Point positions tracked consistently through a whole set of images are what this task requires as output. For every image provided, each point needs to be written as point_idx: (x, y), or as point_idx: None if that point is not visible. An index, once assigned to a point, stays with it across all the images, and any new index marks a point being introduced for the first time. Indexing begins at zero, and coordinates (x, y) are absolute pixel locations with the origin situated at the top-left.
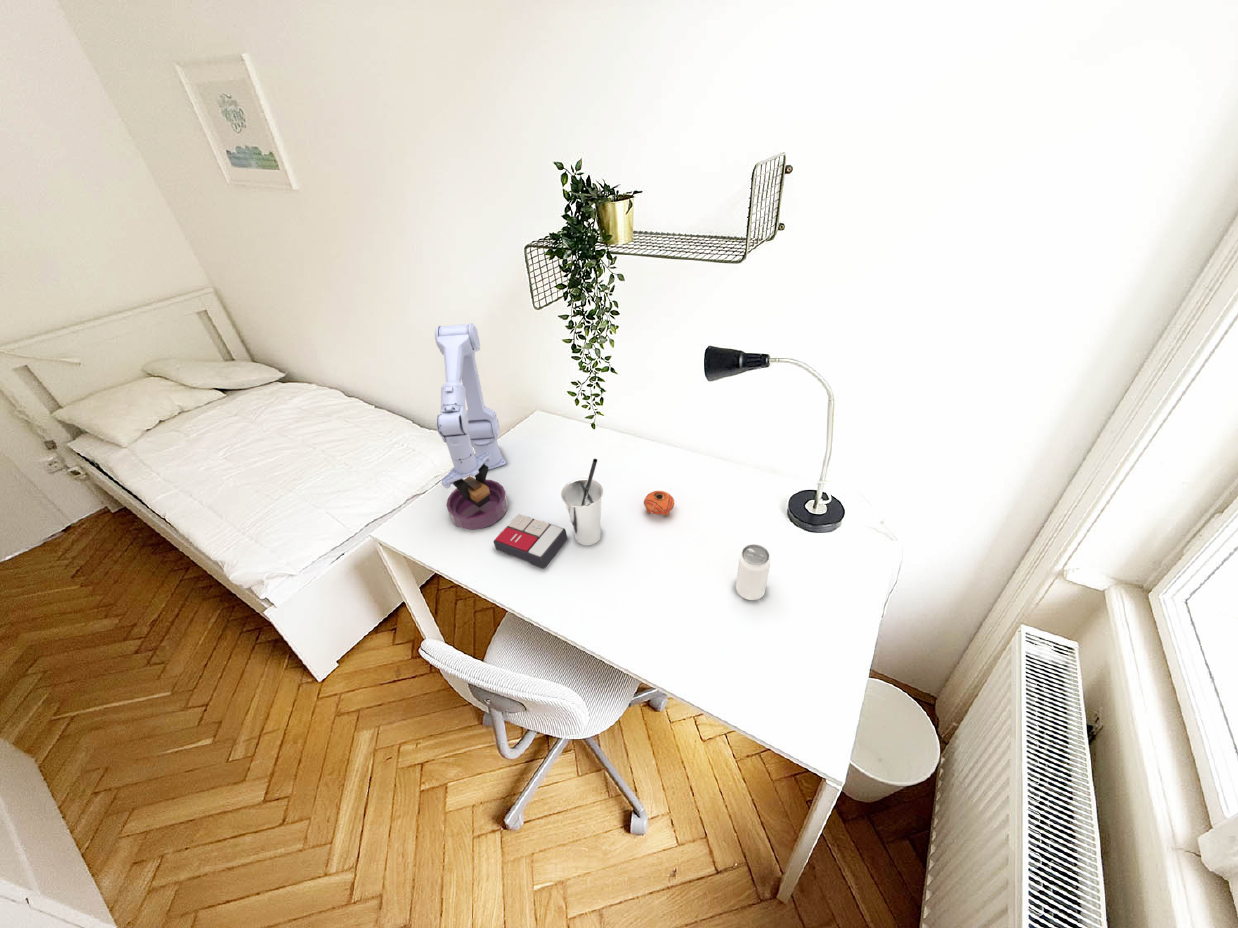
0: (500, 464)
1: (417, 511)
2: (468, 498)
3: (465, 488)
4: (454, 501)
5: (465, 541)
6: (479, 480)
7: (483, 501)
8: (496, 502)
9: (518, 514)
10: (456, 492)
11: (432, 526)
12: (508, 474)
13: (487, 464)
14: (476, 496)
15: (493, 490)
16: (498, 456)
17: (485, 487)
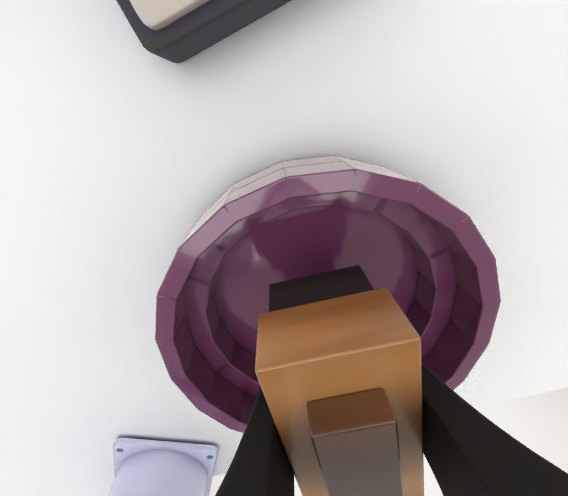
0: (135, 445)
1: (477, 402)
2: None
3: (520, 478)
4: None
5: (482, 144)
6: (282, 464)
7: (323, 287)
8: (233, 284)
9: (150, 22)
10: None
11: (499, 318)
12: (124, 393)
13: (178, 469)
14: (403, 330)
15: (215, 347)
16: (119, 487)
17: (280, 380)
